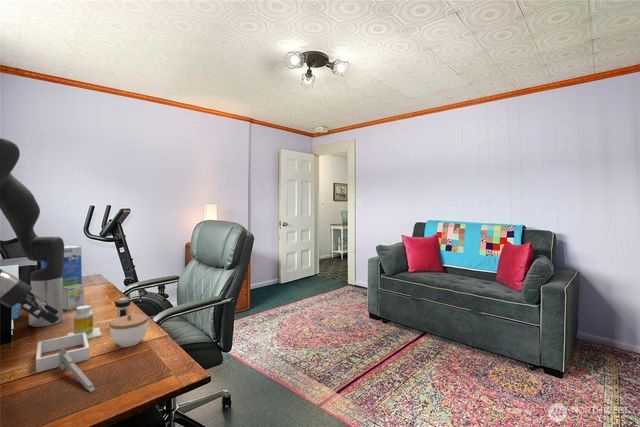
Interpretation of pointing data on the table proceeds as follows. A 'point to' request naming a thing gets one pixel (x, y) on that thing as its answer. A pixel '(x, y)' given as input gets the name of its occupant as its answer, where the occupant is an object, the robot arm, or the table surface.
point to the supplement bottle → (83, 320)
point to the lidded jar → (128, 329)
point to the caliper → (73, 369)
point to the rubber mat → (95, 334)
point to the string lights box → (70, 263)
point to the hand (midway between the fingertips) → (56, 317)
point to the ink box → (72, 294)
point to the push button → (122, 306)
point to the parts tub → (56, 344)
